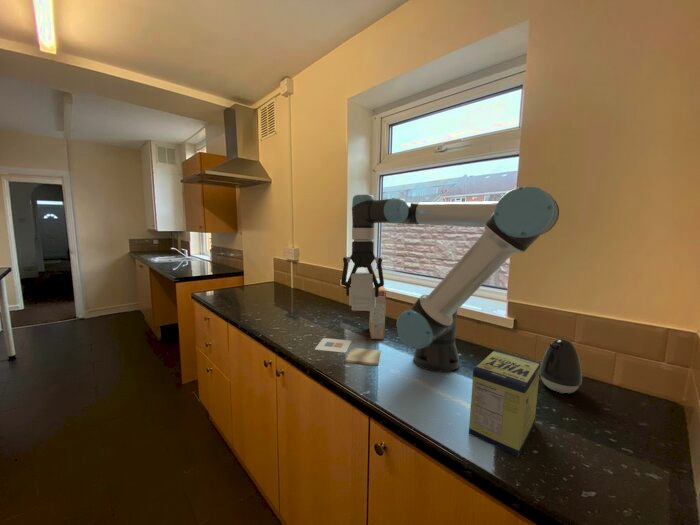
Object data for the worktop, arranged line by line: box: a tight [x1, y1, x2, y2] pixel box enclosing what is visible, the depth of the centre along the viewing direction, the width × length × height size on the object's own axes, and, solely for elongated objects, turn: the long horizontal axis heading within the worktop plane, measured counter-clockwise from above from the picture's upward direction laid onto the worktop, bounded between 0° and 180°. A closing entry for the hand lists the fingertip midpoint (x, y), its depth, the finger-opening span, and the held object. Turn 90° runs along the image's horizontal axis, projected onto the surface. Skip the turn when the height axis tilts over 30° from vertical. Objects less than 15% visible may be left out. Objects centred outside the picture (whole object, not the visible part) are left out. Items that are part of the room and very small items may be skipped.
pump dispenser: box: [539, 338, 583, 394], centre depth 88 cm, size 10×10×15 cm
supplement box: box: [350, 271, 374, 312], centre depth 105 cm, size 7×7×13 cm
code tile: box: [314, 337, 353, 354], centre depth 117 cm, size 12×12×1 cm
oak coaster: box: [345, 347, 382, 366], centre depth 107 cm, size 11×11×1 cm
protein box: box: [468, 349, 541, 458], centre depth 69 cm, size 10×16×16 cm
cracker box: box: [368, 283, 387, 340], centre depth 130 cm, size 14×6×21 cm, turn 179°
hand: (362, 305), depth 106 cm, fingers closed on supplement box, 8 cm apart
